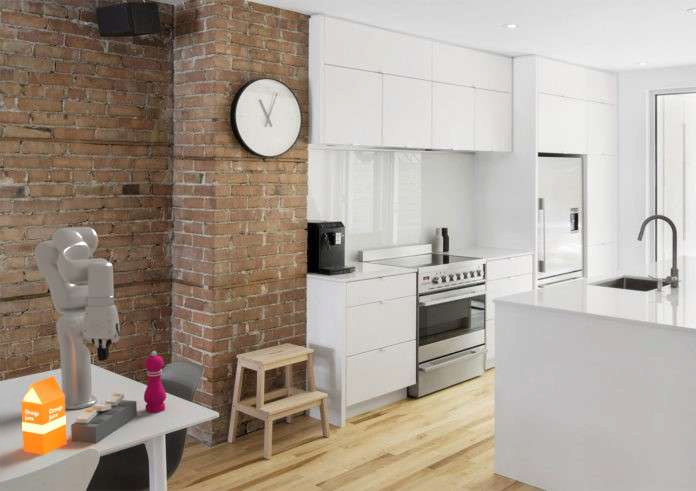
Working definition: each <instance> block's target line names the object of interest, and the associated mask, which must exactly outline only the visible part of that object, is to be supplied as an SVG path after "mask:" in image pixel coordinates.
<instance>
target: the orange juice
mask: <svg viewBox="0 0 696 491" xmlns="http://www.w3.org/2000/svg"><path fill="white" fill-rule="evenodd" d="M20 404H21V419H22V420H21V421H22V422H21V427H22V429H21V430H22V443H23V452H26V453H27V452H28V453H32V454H38V455H43V456H44V455H47V454H48V453H51V452H53V451H54V450H57V449H59V448H61V447H63V446H65V445H66V444H67V426H66V425H67V418H66V409H65V396H64V394H63V392H62V387H60V385H59V384H58V381H57V380H56V378H55V376H54V375H52V376H49V377H46V378H43V379H41V380H38V381H35V382H33V383H30V386H29V387H28V390H27V391H26V393H25V395H24V397H23V399H22V400H21V402H20Z"/></svg>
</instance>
